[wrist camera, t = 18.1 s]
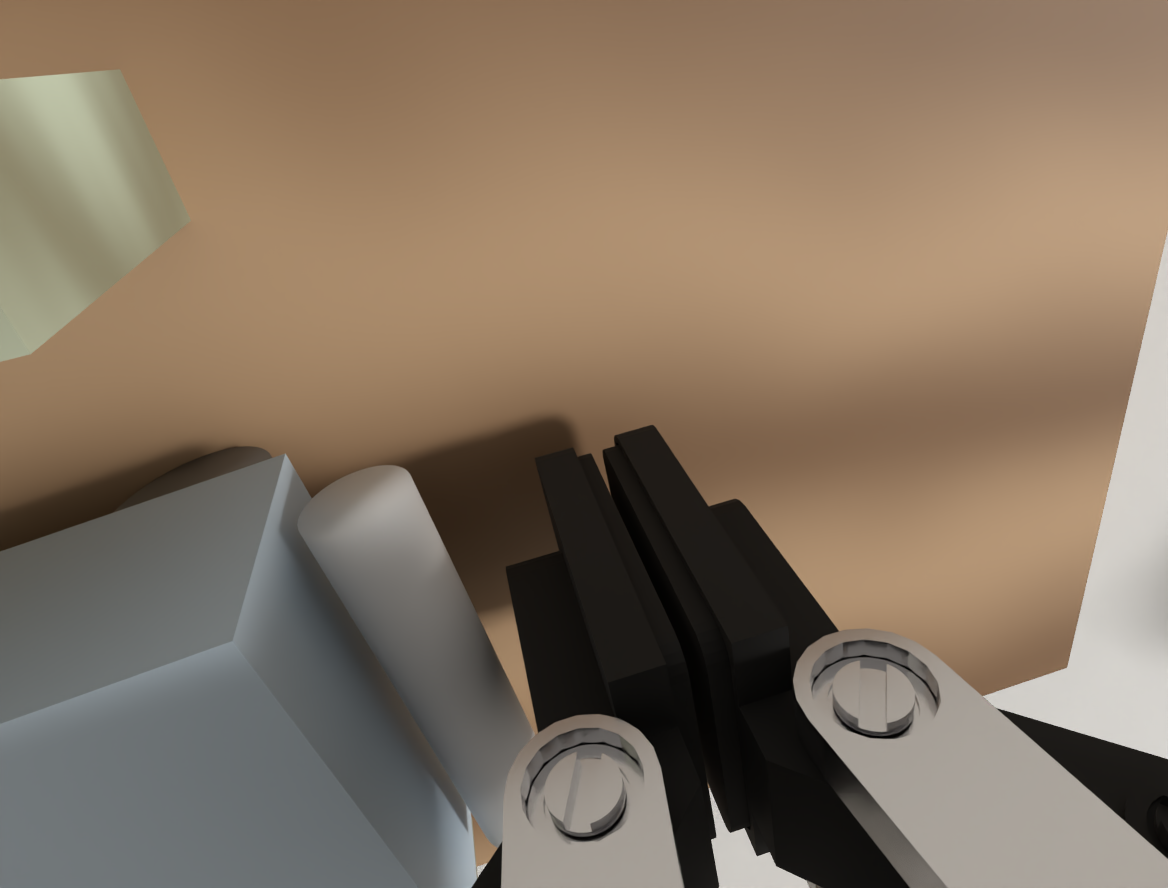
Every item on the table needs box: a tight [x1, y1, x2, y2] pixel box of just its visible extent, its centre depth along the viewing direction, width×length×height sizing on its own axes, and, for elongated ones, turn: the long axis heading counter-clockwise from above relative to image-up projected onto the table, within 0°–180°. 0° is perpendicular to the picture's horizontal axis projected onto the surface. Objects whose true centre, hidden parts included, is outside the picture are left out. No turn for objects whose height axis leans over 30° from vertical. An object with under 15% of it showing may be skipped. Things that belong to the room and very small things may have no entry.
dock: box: [0, 0, 1168, 878], centre depth 10 cm, size 16×24×6 cm, turn 101°
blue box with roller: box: [0, 446, 535, 888], centre depth 9 cm, size 6×10×4 cm, turn 105°
